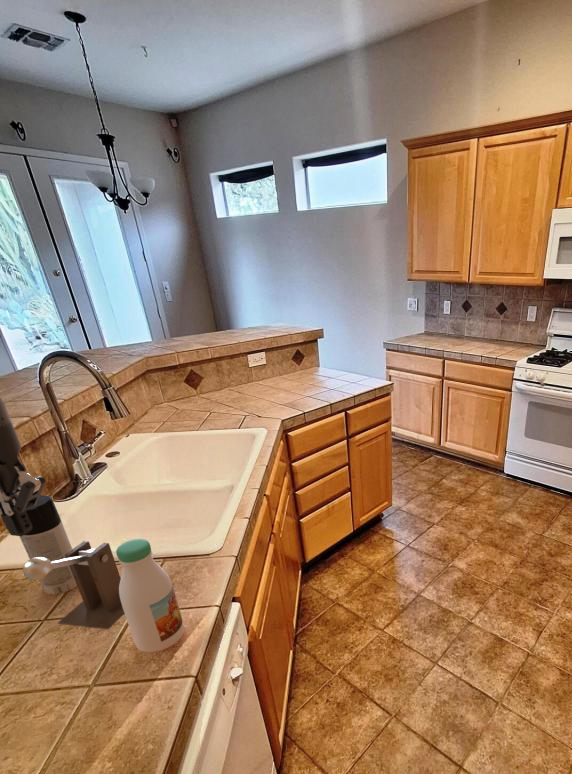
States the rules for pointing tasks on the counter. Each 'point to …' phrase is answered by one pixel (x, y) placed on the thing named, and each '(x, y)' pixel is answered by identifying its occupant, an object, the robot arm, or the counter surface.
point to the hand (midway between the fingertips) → (22, 533)
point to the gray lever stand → (95, 588)
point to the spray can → (49, 544)
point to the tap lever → (51, 565)
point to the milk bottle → (148, 598)
